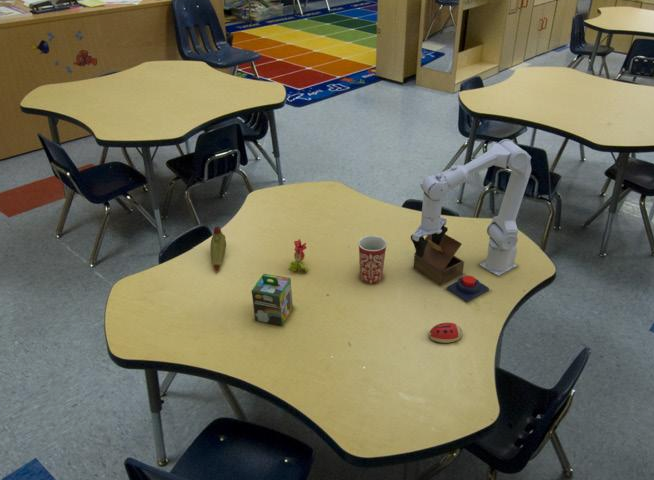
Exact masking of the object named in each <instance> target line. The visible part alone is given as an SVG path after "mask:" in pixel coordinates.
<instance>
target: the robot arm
mask: <svg viewBox="0 0 654 480" xmlns="http://www.w3.org/2000/svg"><path fill="white" fill-rule="evenodd" d="M531 159H532V156H531V155H530V154H529V153H528V152H527V151H526V150H524V149H522V148H521V147H520V146H519V145H517V144H515V142H514V141H512V139H509V138H506V139H502V140H500V141H499V142H497V143H494V144H493V145H492V146H491V148H490V149H489V150H487V151H486V152H483V153H482V154H480V155H478V157H476V158H474V159H472V160H471V161H468V162H467V163H465V164H464V165H462V164H456V165H455V164H453V165H451V166H450V168H448V169H446V170H444V171H442V172H440V173H437V174H436V175H429V176H427V177H425V178H424V180H422V183H420V188H421V190H422V191H423V196H422V207H421V219H420V224H419V226H418V227H417V228H416V230H415V231H414V232H413V233H412V234H411V235H410V241H411V243H412V244H413V246H414V250H415V252H416V255H417V256H419V257H421V258H422V257H423V255H424V251H425V247H426V245H427V243H428V242H429V241H427V240H425V236H426V237H427V235H430V234H432V242H434V243H436V244H437V245H440V242H441V240H442V238H443V236H444V234H446V233H447V232H448V230H449V229H448V227H447V226H446V225H447V221H448V220H447V219H446V218H444V217H442V215H441V214H442V207H443V199H444V198H445V197H446V196H447V194H448V193H450V192H451V190H453V189H455V188H457V187H459V186H461V185H462V184H465V183H466V182H468V179H469V177H470V176H472V175H475V174H476V173H479V172H481V171H483V170H486V169H488V168H490V167H493V166H495V167H499V168H503V169H507V167H508V169H509V170H510V175H509V178H508V182H507V185H506V189H505V192H504V195H503V198H502V202H501V205H500V208H499V212H498V215H496V216H492V219H491V221H490V223H489V224H488V226H487V228H486V234H487V235H488V246H487V252H486V254H487V255H486V260H485V261H483V262H481V263H479V266H480V267H482V268H483V269H485V270H486V271H488V272H490V273H492V274H494V275H496V276H497V277H500V276H501V275H503V274H505V273H507V272H509V271H510V270H513V269H514V268H516V267H517V264H516V263H515V262H516V256H517V253H518V247H517V244H518V233H519V229H518V226H517V222H516V220H517V217H518V214H519V211H520V208H521V205H522V202H523V198H524V195H525V192H526V190H527V185H528V183H529V179H530V176H531V173H532V164H531Z"/></svg>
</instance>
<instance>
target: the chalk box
mask: <svg viewBox="0 0 654 480" xmlns="http://www.w3.org/2000/svg"><path fill="white" fill-rule="evenodd" d="M291 279H292V278H291V277H287V276H281V275H274V274H267V273H263V274H262V275H261V276H260V278H259V279H258V280H257V282H256V283H255V285H254V286H253V288H252V289H251V299H252V305H253V313H254V321H258V322H262V323H267V324H271V325H276V326H280V327H282V326H284V324H285V322H286V320H287V319H288V317H289V316H290V314H291V312H292V311H293V309H294V303H293V291H292V280H291Z"/></svg>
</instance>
